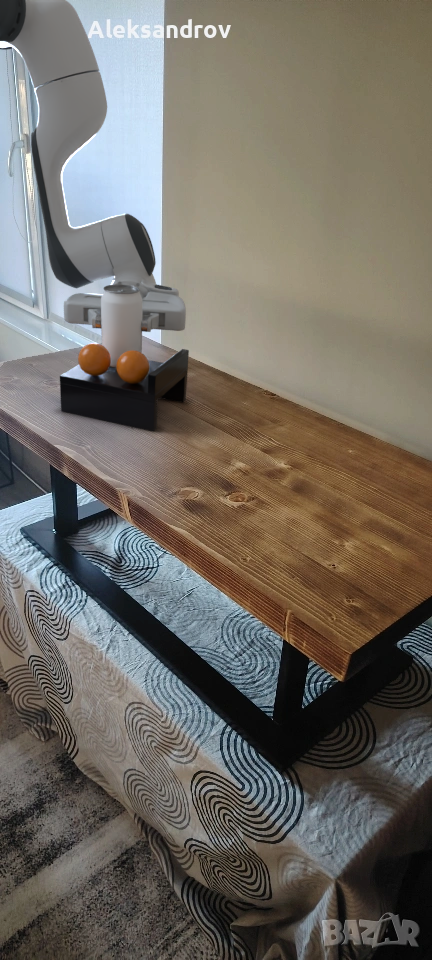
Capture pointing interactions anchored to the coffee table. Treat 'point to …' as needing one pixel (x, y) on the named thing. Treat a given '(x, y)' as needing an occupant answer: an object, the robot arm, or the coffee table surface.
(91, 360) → the rack
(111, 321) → the can
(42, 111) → the robot arm
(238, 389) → the coffee table surface
